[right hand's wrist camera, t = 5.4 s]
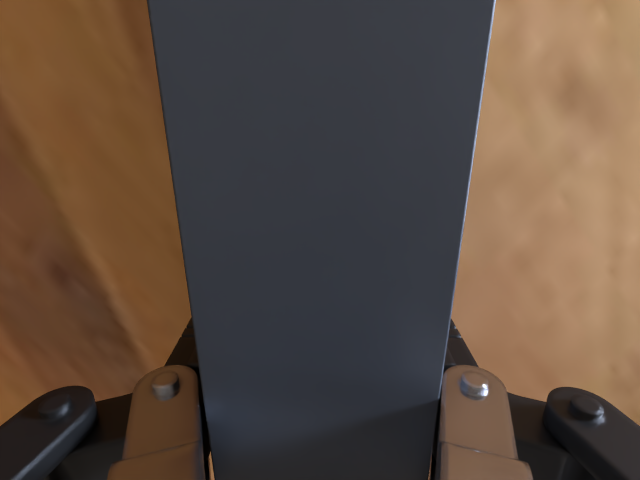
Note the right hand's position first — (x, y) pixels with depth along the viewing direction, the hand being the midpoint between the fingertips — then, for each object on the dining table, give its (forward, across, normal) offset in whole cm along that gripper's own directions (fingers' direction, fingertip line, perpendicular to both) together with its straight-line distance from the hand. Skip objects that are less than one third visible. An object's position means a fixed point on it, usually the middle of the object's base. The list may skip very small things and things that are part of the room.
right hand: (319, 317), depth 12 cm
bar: (+4, 0, -24) cm, 25 cm away
